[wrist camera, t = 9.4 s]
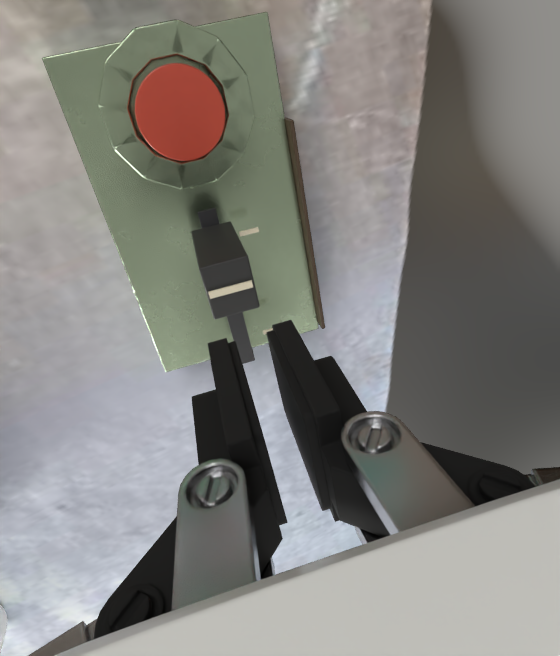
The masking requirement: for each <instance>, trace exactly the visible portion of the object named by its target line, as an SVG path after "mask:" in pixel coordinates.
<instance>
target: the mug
mask: <svg viewBox="0 0 560 656" xmlns="http://www.w3.org/2000/svg"><path fill="white" fill-rule="evenodd" d="M6 628H7V615H6V612H5V610H4V609H3V607H2V606H1V605H0V652H1V649H2V645H3V641H4V637H5V633H6Z"/></svg>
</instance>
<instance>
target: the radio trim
mask: <svg viewBox="0 0 560 656" xmlns="http://www.w3.org/2000/svg"><path fill="white" fill-rule="evenodd" d="M285 123H286V130H287V136H288V142H289V148H290V154H291V160H292V167H293V173H294V179H295V185H296V191H297V198H298V204H299V210H300V216H301V222H302V229H303V235H304V241H305V247H306V253H307V259H308V266H309V272H310V278H311V284H312V290H313V297H314V303H315V309H316V315H317V321H318V323H319V325H320V326H321V328H322V329H324V328H325V324H324V317H323V311H322V304H321V297H320V291H319V284H318V278H317V271H316V265H315V258H314V252H313V245H312V239H311V232H310V225H309V219H308V212H307V206H306V199H305V193H304V186H303V180H302V173H301V166H300V160H299V153H298V147H297V140H296V134H295V127H294V121H293V120H291V119H288V118H285ZM197 213H198V217H199V220H200V224H201V227H202V228H205V227H209V226H213V225H217V224H220V223H219V220H218V216H217V212H216V208H211V209H207V210H203V211H199V212H197ZM256 232H259V229H258V227H255V228H251V229H248V230H244V231H240V232H239V234H240V237H241V236H245V235H248V234H252V233H256ZM227 319H228V323H229V326H230V330H231V334H232V337H233V341H236V344H237V348H238V351H239V354H240V358H241V361H242V364H244V363H247V362H251V361H254V360H255V358H254V354H253V351H252V347H251V343H250V339H249V335H248V331H247V327H246V324H245V320H244V316H243V312H241V313H237V314H234V315H230V316H227ZM271 330H273V328H270V329H266V330H263V334H266V332H268V331H271Z"/></svg>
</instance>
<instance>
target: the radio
mask: <svg viewBox="0 0 560 656" xmlns="http://www.w3.org/2000/svg"><path fill="white" fill-rule="evenodd" d="M42 60H43V62H44V65H45V67H46V70H47V72H48V75H49V78H50V80H51V83H52V85H53V88H54V90H55V93H56V95H57V98H58V100H59V103H60V105H61V108H62V111H63V113H64V116H65V118H66V121H67V123H68V126H69V128H70V131H71V133H72V136H73V138H74V141H75V144H76V146H77V149H78V151H79V154H80V156H81V159H82V161H83V164H84V166H85V169H86V171H87V174H88V177H89V179H90V182H91V184H92V187H93V189H94V192H95V194H96V197H97V199H98V202H99V204H100V207H101V210H102V212H103V215H104V217H105V220H106V222H107V225H108V227H109V230H110V232H111V235H112V237H113V240H114V243H115V245H116V248H117V250H118V253H119V255H120V258H121V260H122V263H123V265H124V268H125V270H126V273H127V276H128V278H129V281H130V283H131V286H132V288H133V291H134V293H135V296H136V298H137V301H138V303H139V306H140V309H141V311H142V314H143V316H144V319H145V321H146V324H147V326H148V329H149V331H150V334H151V336H152V339H153V342H154V344H155V347H156V349H157V352H158V354H159V357H160V359H161V362H162V364H163V367H164V369H165V372H169V371H172V370H176V369H179V368H183V367H186V366H190V365H193V364H197V363H200V362H204V361H207V360H210V355H209V349H208V343H210V342H213V341H217V340H221V339H224V338H227V341H228V343H229V342H233V337H232V334H231V330H230V326H229V323H228V319H227V316H226V317H223V318H219V319H214V318H213V315H212V311H211V308H210V305H209V301H208V298H207V295H206V291H205V288H204V285H203V281H202V278H201V275H200V271H199V267H198V263H197V258H196V253H195V249H194V244H193V239H192V234H191V231H194V230H198V229H201V228H202V227H201V224H200V220H199V217H198V213H197V212H199V211H203V210H207V209H211V208H216V212H217V216H218V220H219V223H220V224H221V223H225V222H229V221H230V222H231V223H232V225H233V227H234V229H235V231H236V233H237V235H238V237H239V239H240V241H241V243H242V245H243V247H244V249H245V251H246V253H247V255H248V258H249V262H250V266H251V270H252V275H253V279H254V283H255V288H256V292H257V296H258V300H259V305H260V306H259V308H255V309H252V310H248V311H244V312H243V316H244V320H245V324H246V327H247V331H248V335H249V339H250V343H251V347H256V346H259V345H263V344H266V343H268V338H267V334H263V330H266V329H270V328H272V325H274V324H277V323H281V322H284V321H288V320H292V322H293V324H294V325H295V327H296V329H297V331H298V333H299V334H301V333H305V332H308V331H312V330H315V329H318V321H317V315H316V309H315V303H314V297H313V290H312V284H311V278H310V272H309V266H308V259H307V253H306V247H305V241H304V235H303V229H302V222H301V216H300V210H299V204H298V198H297V191H296V185H295V179H294V173H293V167H292V160H291V154H290V148H289V142H288V136H287V130H286V123H285V117H284V111H283V105H282V99H281V92H280V86H279V80H278V74H277V68H276V61H275V55H274V49H273V43H272V37H271V31H270V24H269V18H268V13H267V12H263V13H258V14H253V15H248V16H244V17H239V18H234V19H229V20H224V21H219V22H214V23H209V24H204V25H200V26H195V27H194V26H192V25H190V24H187V23H185V22H183V21H180V20H170V21H165V22H160V23H156V24H151V25H146V26H141V27H136V28H135V29H133V30H132V31H131V32H130V33H129V34H128V35H127V36H126V37H125V39H124V40H123V41H121V42H117V43H112V44H107V45H102V46H97V47H92V48H87V49H82V50H78V51H73V52H68V53H63V54H58V55H53V56H48V57H43V58H42ZM171 63H182V64H187V65H190V66H193V67H195V68H197V69H199V70H201V71H202V72H204V73H205V74H206V75H207V76H208V77H209V78H210V79H211V80H212V81H213V82H214V84H215V85H216V86H217V88H218V90H219V92H220V94H221V96H222V99H223V102H224V107H225V126H224V130H223V133H222V136H221V138H220V140H219V141H218V143H217V144H216V146H215V147H214V148H213V149H212V150H211V151H210V152H209V153H207V154H206V155H204V156H202V157H200V158H198V159H194V160H189V161H179V160H174V159H170V158H168V157H165V156H163V155H161V154H160V153H158V152H157V151H156V150H154V149H153V148H152V147H151V146H150V145H149V144H148V143H147V141H146V140H145V139H144V137H143V135H142V134H141V132H140V130H139V127H138V124H137V121H136V116H135V99H136V95H137V91H138V89H139V86H140V85H141V83H142V81H143V80H144V79H145V77H146V76H147V75H148V74H149V73H150V72H151V71H153V70H154V69H156V68H158V67H160V66H162V65H166V64H171ZM255 227H258V229H259V232H256V233H252V234H248V235H245V236H241V237H240V234H239V232H240V231H244V230H248V229H251V228H255Z"/></svg>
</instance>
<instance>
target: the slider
mask: <svg viewBox="0 0 560 656" xmlns="http://www.w3.org/2000/svg"><path fill="white" fill-rule="evenodd" d="M191 234H192V239H193V244H194V249H195V253H196V258H197V263H198V267H199V271H200V275H201V278H202V281H203V285H204V288H205V291H206V295H207V298H208V301H209V305H210V308H211V311H212V315H213V318H214V319H219V318H223V317H226V316H230V315H234V314H237V313H241V312H244V311H248V310H252V309H255V308H259V306H260V305H259V300H258V296H257V292H256V288H255V283H254V279H253V275H252V270H251V266H250V262H249V258H248V255H247V253H246V251H245V249H244V247H243V245H242V243H241V241H240V239H239V237H238V235H237V233H236V231H235V229H234V227H233V225H232V223H231V222H230V221H229V222H225V223H221V224H217V225H213V226H209V227H205V228H201V229H198V230H194V231H191Z"/></svg>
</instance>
